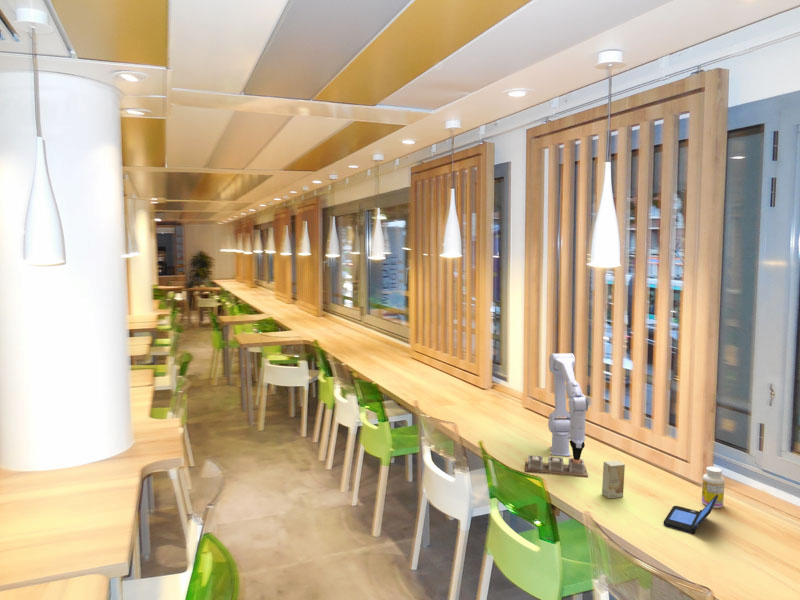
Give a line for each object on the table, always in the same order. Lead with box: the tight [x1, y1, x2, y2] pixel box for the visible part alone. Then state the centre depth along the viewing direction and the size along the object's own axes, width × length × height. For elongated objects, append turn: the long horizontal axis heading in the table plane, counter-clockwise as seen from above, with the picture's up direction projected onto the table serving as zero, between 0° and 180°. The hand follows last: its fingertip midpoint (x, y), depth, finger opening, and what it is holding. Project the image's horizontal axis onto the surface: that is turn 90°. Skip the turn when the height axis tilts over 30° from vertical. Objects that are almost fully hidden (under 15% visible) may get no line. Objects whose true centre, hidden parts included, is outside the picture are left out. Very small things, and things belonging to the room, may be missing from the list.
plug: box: [532, 455, 539, 460], centre depth 228 cm, size 3×3×3 cm
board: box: [524, 454, 589, 478], centre depth 226 cm, size 10×24×4 cm, turn 78°
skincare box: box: [601, 460, 626, 499], centre depth 202 cm, size 6×4×12 cm
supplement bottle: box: [701, 466, 725, 509], centre depth 195 cm, size 7×7×13 cm
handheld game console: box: [663, 495, 718, 535], centre depth 182 cm, size 16×13×9 cm
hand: (576, 459), depth 224 cm, fingers closed, pressing on terracotta plug
